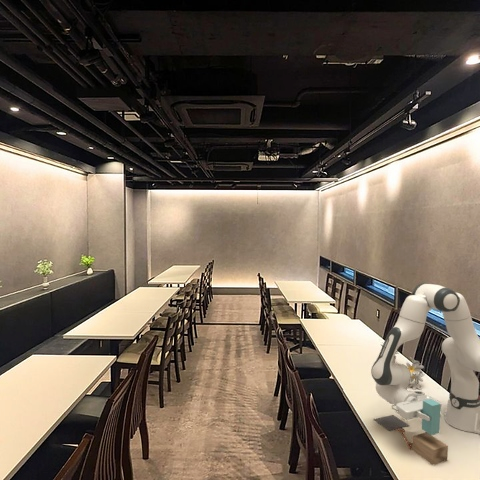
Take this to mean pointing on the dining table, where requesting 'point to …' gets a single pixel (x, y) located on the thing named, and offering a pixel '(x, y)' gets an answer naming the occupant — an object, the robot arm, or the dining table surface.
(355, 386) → the dining table surface
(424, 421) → the tall teal pillar
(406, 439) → the key
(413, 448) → the block
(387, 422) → the mat
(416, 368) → the flower vase
